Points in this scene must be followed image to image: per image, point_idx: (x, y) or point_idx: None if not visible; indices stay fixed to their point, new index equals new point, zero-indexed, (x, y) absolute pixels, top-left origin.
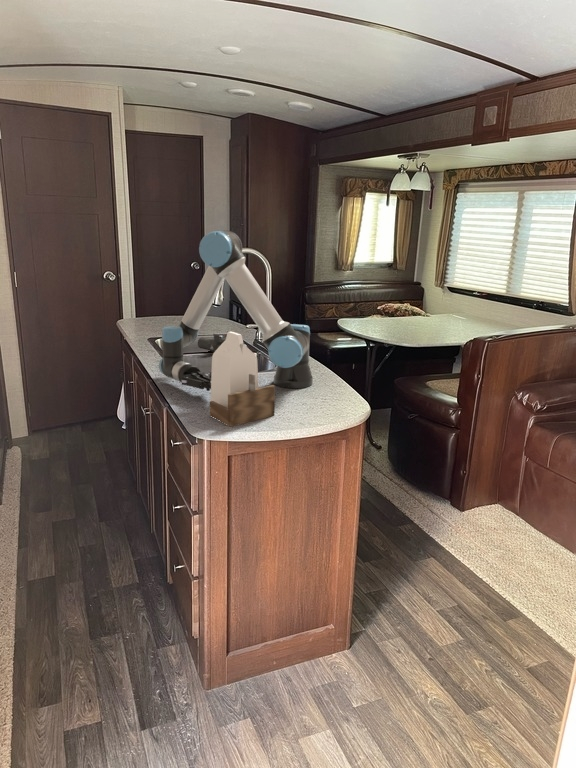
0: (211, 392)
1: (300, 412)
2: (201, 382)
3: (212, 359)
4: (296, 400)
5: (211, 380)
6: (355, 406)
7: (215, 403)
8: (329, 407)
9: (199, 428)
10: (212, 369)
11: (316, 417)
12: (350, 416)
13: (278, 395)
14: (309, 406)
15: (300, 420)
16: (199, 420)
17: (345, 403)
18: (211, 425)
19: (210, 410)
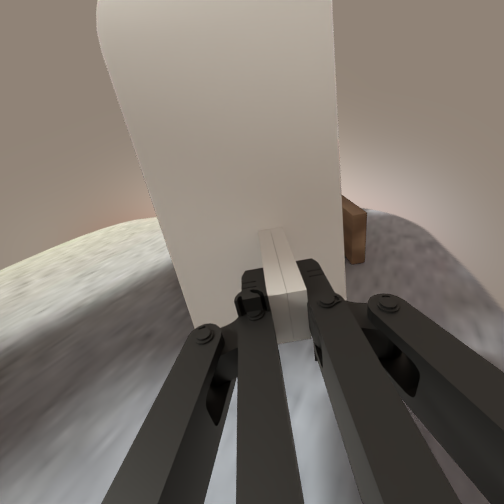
0: (341, 237)
1: (151, 244)
2: (397, 299)
3: (330, 8)
4: (61, 296)
5: (339, 174)
6: (61, 247)
7: (348, 204)
8: (88, 251)
9: (406, 219)
10: (333, 96)
11: (159, 228)
12: (122, 226)
13: (13, 355)
14: (101, 261)
15: None
16: (405, 248)
17: (46, 259)
18: (370, 226)
19: (363, 240)
